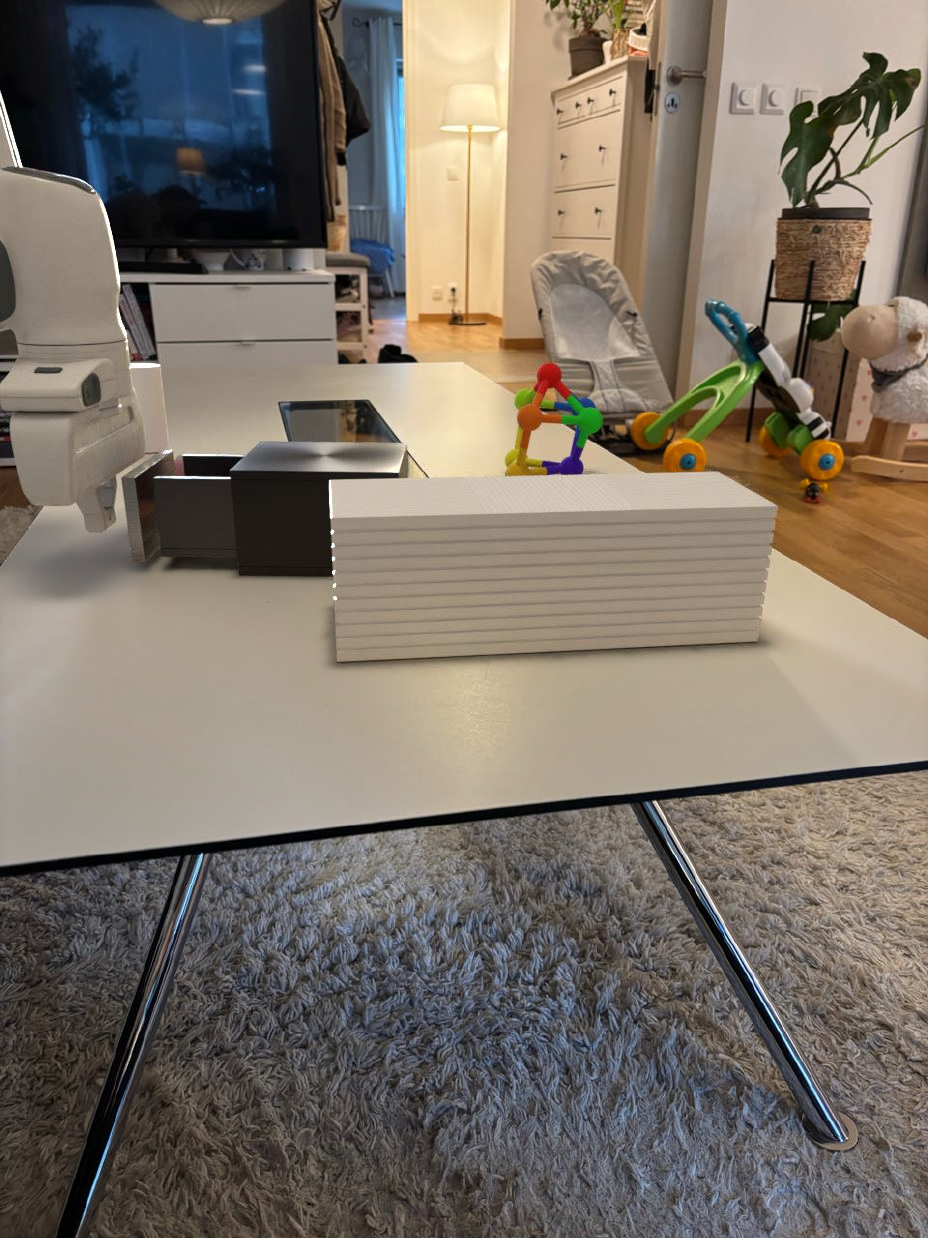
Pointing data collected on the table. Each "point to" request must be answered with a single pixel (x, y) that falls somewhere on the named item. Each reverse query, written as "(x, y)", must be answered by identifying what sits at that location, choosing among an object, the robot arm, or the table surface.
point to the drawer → (181, 507)
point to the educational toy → (532, 418)
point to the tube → (151, 407)
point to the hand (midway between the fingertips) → (101, 528)
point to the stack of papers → (545, 563)
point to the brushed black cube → (298, 500)
